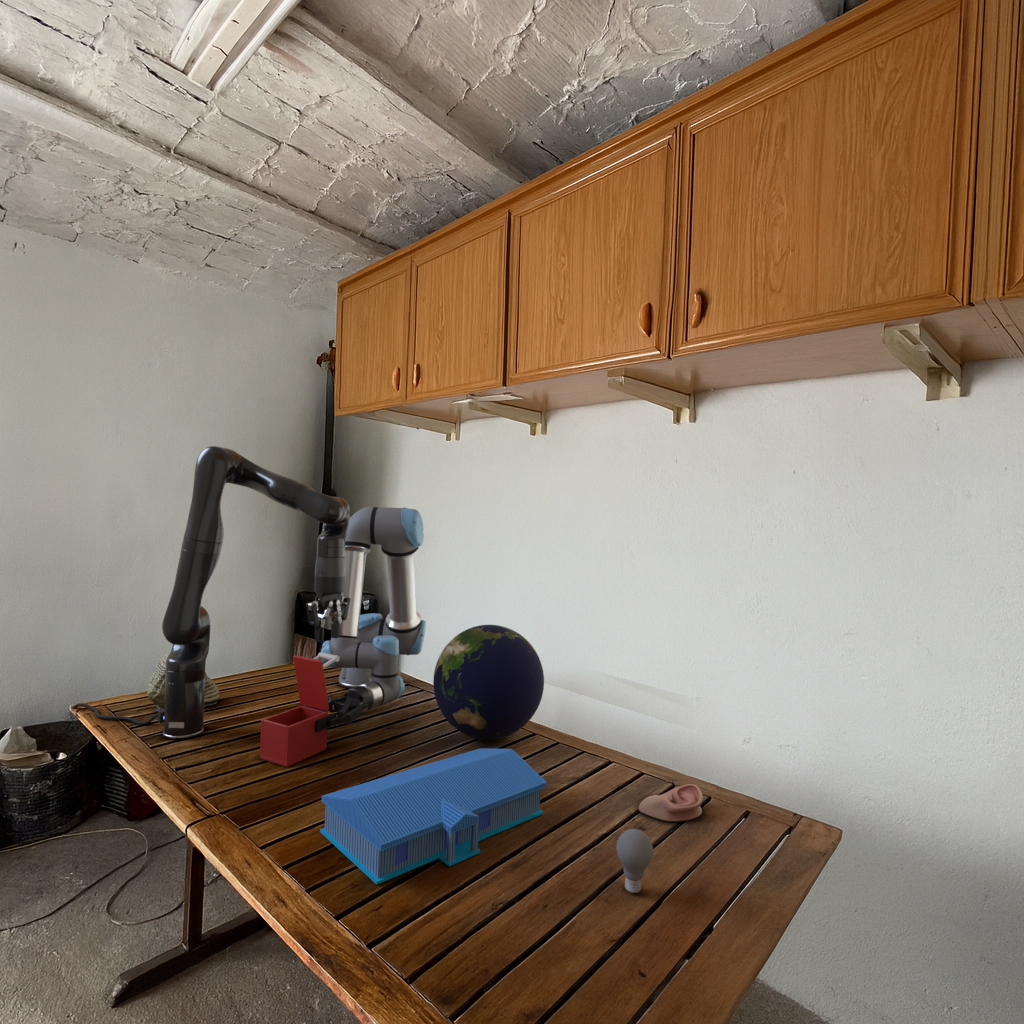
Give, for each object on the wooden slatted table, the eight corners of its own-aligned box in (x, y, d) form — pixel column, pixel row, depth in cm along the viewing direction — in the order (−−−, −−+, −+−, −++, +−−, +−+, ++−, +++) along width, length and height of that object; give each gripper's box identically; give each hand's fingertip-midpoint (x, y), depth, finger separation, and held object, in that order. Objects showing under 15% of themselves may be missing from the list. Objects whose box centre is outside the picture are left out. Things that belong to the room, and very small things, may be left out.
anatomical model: (639, 798, 130) (639, 775, 142) (638, 817, 130) (638, 792, 142) (706, 807, 128) (701, 783, 139) (705, 826, 128) (700, 800, 139)
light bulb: (610, 879, 108) (613, 822, 108) (644, 879, 109) (647, 822, 109) (619, 902, 102) (622, 840, 102) (655, 901, 103) (658, 840, 103)
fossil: (144, 707, 182) (145, 655, 182) (212, 696, 194) (213, 647, 194) (151, 716, 175) (153, 662, 175) (221, 703, 188) (223, 653, 188)
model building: (386, 894, 102) (389, 832, 102) (318, 830, 120) (320, 778, 120) (555, 819, 128) (557, 770, 128) (478, 776, 146) (480, 733, 146)
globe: (409, 744, 164) (414, 628, 163) (461, 710, 191) (466, 611, 191) (517, 767, 152) (522, 643, 152) (556, 727, 180) (560, 623, 180)
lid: (319, 662, 155) (342, 648, 162) (292, 656, 159) (316, 643, 166) (326, 711, 158) (349, 695, 165) (300, 704, 162) (323, 689, 169)
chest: (286, 767, 147) (288, 727, 147) (259, 758, 152) (261, 719, 151) (326, 749, 159) (328, 712, 159) (300, 741, 163) (301, 705, 163)
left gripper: (320, 577, 155) (317, 646, 155) (360, 573, 168) (357, 637, 168) (298, 574, 158) (295, 642, 159) (338, 570, 171) (335, 633, 171)
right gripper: (392, 719, 172) (334, 746, 152) (332, 704, 182) (269, 728, 162) (394, 692, 172) (335, 715, 152) (333, 678, 182) (270, 699, 162)
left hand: (327, 639), depth 163 cm, fingers open, 5 cm apart
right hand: (301, 722), depth 157 cm, fingers closed on chest, 9 cm apart
